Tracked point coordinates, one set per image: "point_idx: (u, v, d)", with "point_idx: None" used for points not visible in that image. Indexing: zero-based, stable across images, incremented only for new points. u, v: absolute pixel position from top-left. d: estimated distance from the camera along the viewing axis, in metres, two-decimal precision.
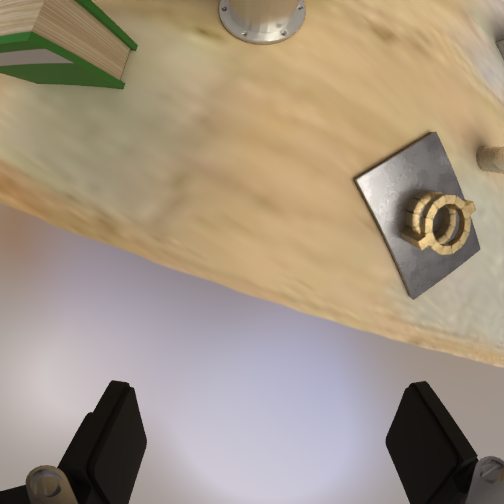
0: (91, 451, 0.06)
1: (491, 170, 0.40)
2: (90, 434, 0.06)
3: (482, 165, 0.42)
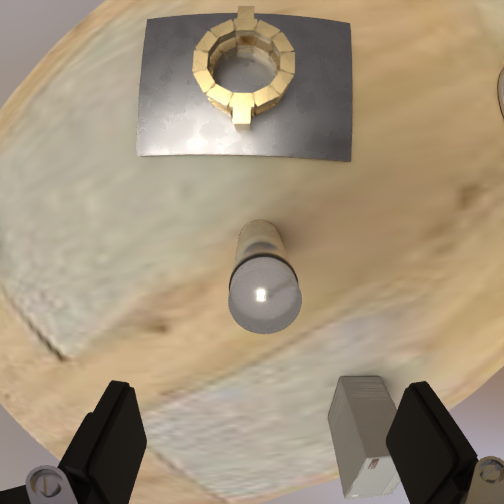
0: (91, 450, 0.06)
1: (248, 228, 0.31)
2: (90, 434, 0.06)
3: (258, 222, 0.33)
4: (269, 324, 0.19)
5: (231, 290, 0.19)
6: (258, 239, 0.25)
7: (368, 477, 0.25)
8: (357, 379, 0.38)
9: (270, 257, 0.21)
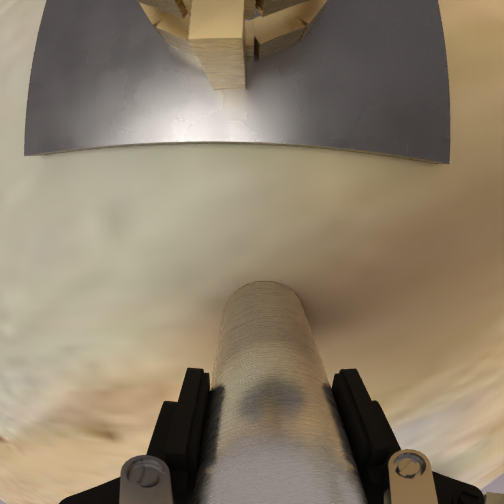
0: (188, 434, 0.07)
1: (241, 311, 0.14)
2: (182, 419, 0.08)
3: (263, 290, 0.15)
4: None
5: None
6: (267, 395, 0.08)
7: None
8: None
9: None
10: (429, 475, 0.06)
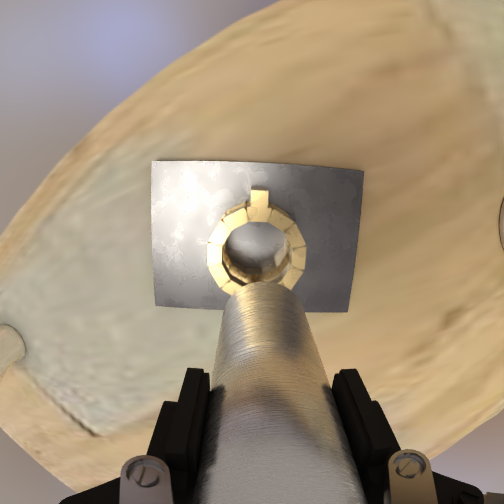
0: (188, 434, 0.07)
1: (241, 311, 0.14)
2: (182, 419, 0.08)
3: (263, 290, 0.15)
4: None
5: None
6: (267, 395, 0.08)
7: None
8: None
9: None
10: (429, 475, 0.06)
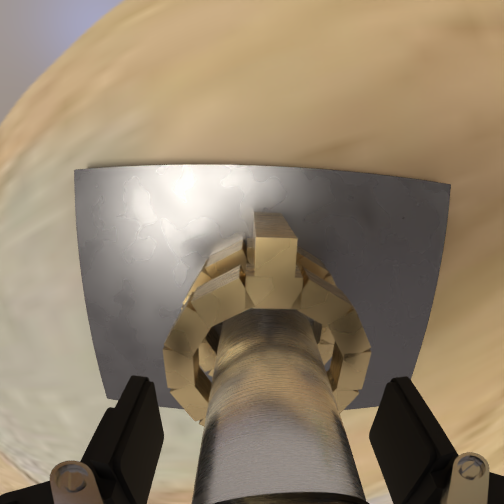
0: (116, 444, 0.06)
1: None
2: (114, 428, 0.07)
3: None
4: None
5: None
6: (265, 374, 0.09)
7: None
8: None
9: None
10: (485, 480, 0.05)
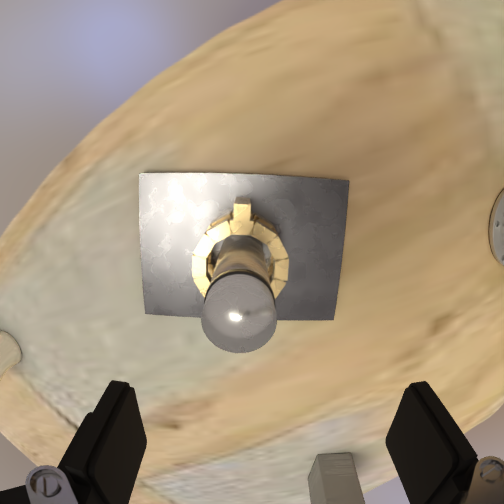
0: (91, 450, 0.06)
1: (230, 239, 0.30)
2: (90, 434, 0.06)
3: None
4: (244, 343, 0.19)
5: (204, 309, 0.18)
6: (237, 253, 0.25)
7: None
8: (331, 457, 0.44)
9: (245, 274, 0.20)
10: None
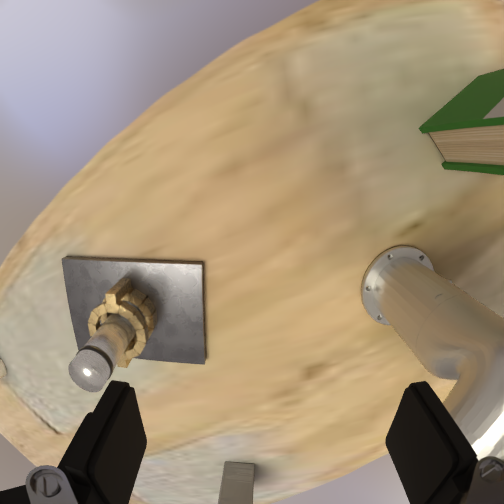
0: (91, 450, 0.06)
1: None
2: (90, 434, 0.06)
3: None
4: (91, 387, 0.29)
5: (69, 368, 0.29)
6: (103, 328, 0.35)
7: None
8: (236, 465, 0.54)
9: (91, 350, 0.30)
10: None
